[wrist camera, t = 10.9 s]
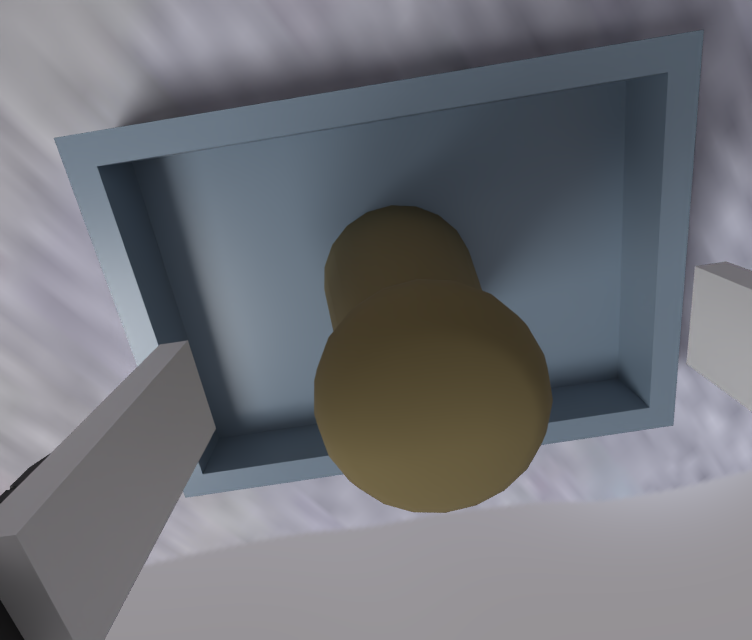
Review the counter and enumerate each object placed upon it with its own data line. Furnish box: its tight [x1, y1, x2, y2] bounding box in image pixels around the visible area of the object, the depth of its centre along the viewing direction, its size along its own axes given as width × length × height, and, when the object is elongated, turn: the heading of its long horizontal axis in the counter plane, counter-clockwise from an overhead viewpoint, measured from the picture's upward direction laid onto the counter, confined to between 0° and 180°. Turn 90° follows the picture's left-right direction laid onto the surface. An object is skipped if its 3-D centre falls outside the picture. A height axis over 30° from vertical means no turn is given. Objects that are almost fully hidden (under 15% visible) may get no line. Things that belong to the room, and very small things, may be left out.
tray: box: [54, 30, 704, 497], centre depth 19 cm, size 20×14×4 cm
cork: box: [314, 205, 553, 513], centre depth 14 cm, size 6×6×11 cm
